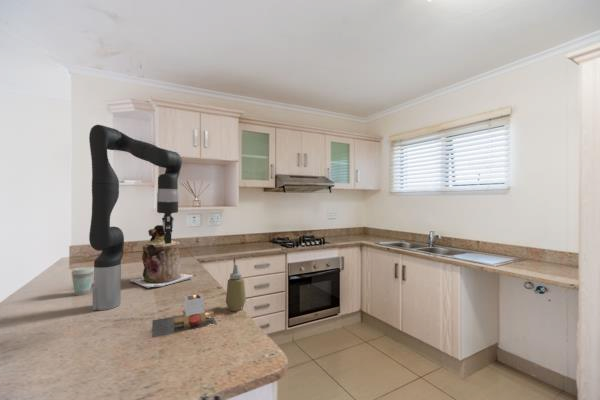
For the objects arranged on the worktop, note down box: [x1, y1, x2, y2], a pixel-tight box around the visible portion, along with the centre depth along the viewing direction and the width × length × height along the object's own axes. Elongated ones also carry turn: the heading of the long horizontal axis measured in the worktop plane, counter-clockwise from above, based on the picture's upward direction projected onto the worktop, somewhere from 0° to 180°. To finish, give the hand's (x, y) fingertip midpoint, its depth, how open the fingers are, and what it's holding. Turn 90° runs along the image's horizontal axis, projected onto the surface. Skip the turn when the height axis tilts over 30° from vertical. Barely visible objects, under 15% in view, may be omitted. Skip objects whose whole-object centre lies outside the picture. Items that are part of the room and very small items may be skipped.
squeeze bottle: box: [225, 264, 247, 312], centre depth 111 cm, size 8×8×18 cm
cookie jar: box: [129, 224, 193, 289], centre depth 152 cm, size 25×25×32 cm
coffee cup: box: [71, 266, 94, 296], centre depth 130 cm, size 9×9×12 cm
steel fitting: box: [183, 293, 205, 316], centre depth 96 cm, size 6×6×5 cm
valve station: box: [151, 297, 218, 338], centre depth 97 cm, size 20×14×10 cm
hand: (167, 241), depth 107 cm, fingers open, 8 cm apart
